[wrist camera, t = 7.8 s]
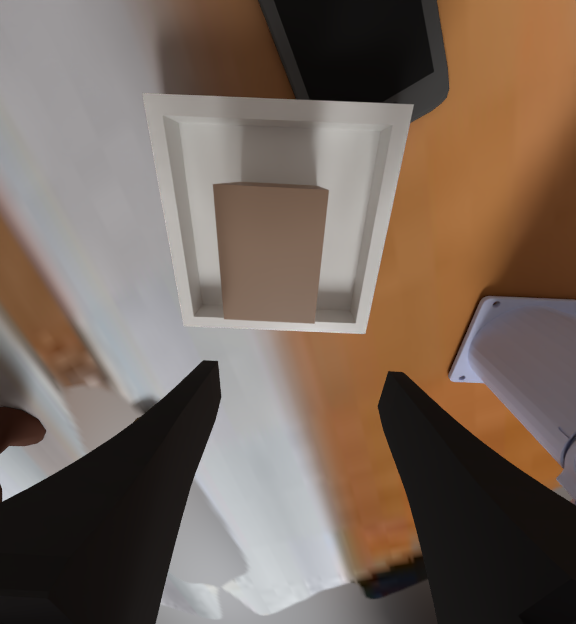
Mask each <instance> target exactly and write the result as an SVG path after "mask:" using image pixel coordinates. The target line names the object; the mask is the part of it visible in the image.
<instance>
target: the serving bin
mask: <svg viewBox="0 0 576 624" xmlns="http://www.w3.org/2000/svg"><path fill="white" fill-rule="evenodd" d="M142 95H143V101H144V106H145V112H146V118H147V123H148V129H149V134H150V140H151V146H152V151H153V157H154V162H155V168H156V173H157V179H158V185H159V190H160V196H161V201H162V207H163V213H164V218H165V224H166V229H167V235H168V240H169V246H170V252H171V257H172V263H173V268H174V274H175V280H176V285H177V291H178V296H179V302H180V307H181V313H182V319H183V324H184V326H192V327H215V328H239V329H262V330H285V331H309V332H332V333H356V334H365V333H366V328H367V323H368V319H369V314H370V309H371V304H372V300H373V295H374V290H375V286H376V281H377V276H378V271H379V267H380V262H381V257H382V253H383V248H384V243H385V238H386V234H387V229H388V224H389V220H390V215H391V210H392V205H393V201H394V196H395V191H396V187H397V182H398V177H399V172H400V168H401V163H402V158H403V154H404V149H405V144H406V139H407V135H408V130H409V125H410V121H411V116H412V111H413V106H414V104H392V103H368V102H344V101H320V100H296V99H272V98H249V97H225V96H201V95H177V94H153V93H142ZM231 182H258V183H278V184H297V185H317V186H320V187H322V188H325V189H328V190H329V195H328V205H327V214H326V223H325V232H324V241H323V251H322V260H321V269H320V278H319V287H318V297H317V306H316V315H315V324H310V323H289V322H269V321H249V320H229V319H224V314H223V302H222V290H221V278H220V266H219V254H218V242H217V230H216V218H215V206H214V194H213V184H220V183H231Z"/></svg>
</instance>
